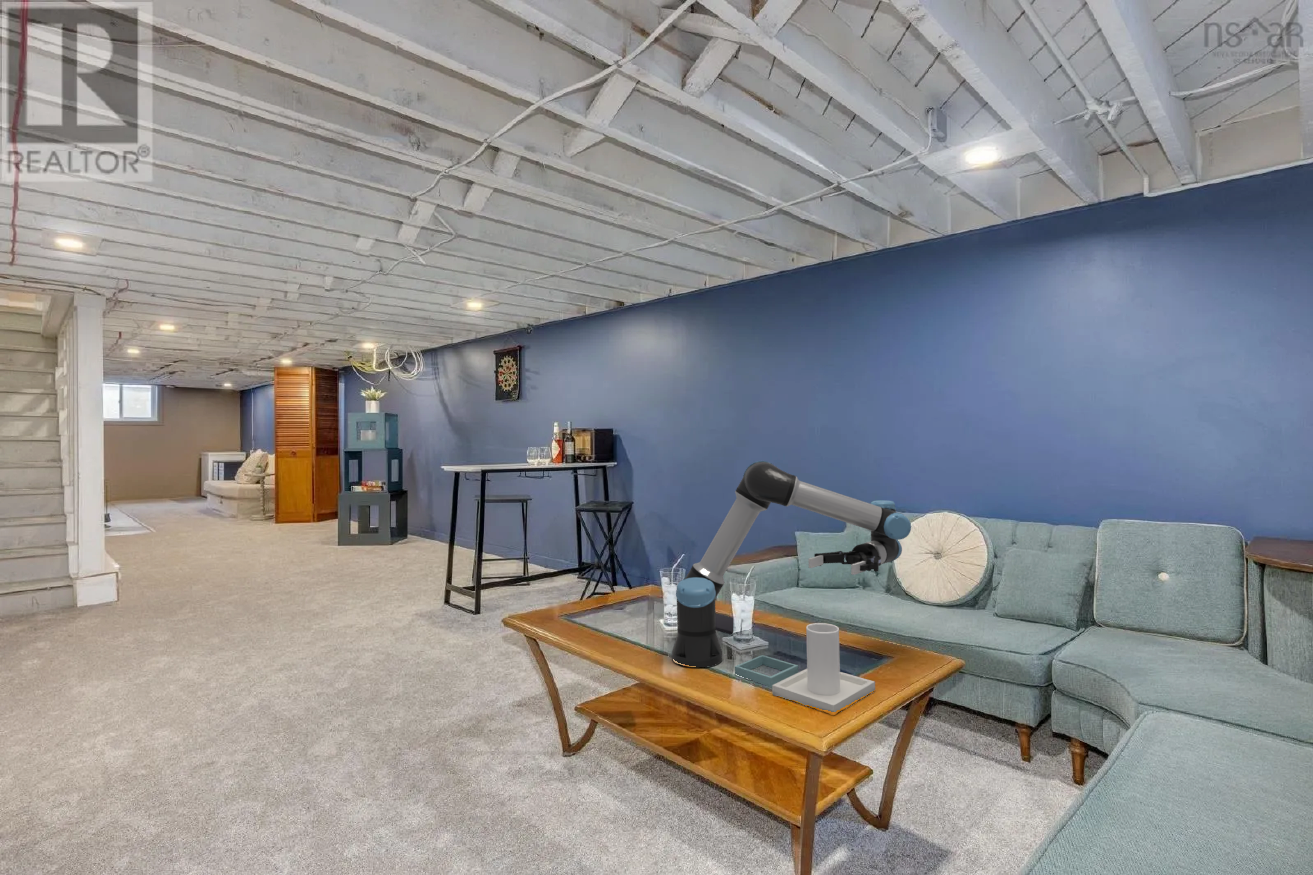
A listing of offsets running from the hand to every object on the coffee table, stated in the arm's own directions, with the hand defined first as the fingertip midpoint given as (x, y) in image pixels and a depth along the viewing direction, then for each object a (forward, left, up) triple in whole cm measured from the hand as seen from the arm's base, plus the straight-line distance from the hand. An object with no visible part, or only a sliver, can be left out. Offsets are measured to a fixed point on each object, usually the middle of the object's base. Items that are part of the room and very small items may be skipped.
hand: (830, 566), depth 179 cm
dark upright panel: (-28, +47, -31) cm, 63 cm away
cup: (-6, -14, -29) cm, 33 cm away
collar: (-19, -1, -30) cm, 35 cm away
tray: (-6, -14, -30) cm, 33 cm away
